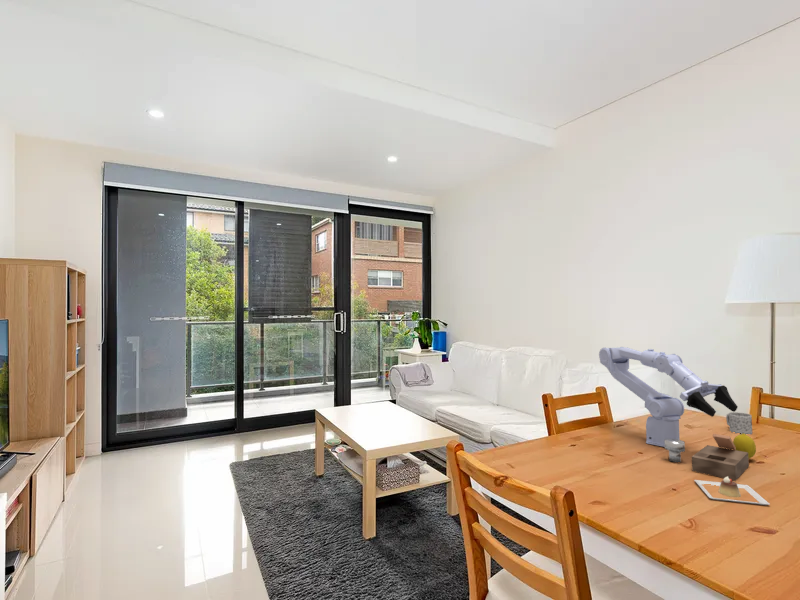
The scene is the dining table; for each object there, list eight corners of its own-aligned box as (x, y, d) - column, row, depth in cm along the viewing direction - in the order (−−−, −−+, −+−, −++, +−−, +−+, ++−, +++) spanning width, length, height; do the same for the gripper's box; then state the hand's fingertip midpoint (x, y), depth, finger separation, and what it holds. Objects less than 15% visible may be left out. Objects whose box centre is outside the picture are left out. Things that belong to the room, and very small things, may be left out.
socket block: (692, 470, 123) (691, 456, 123) (707, 458, 134) (707, 445, 134) (735, 480, 115) (735, 465, 116) (748, 466, 126) (748, 452, 126)
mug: (757, 434, 158) (756, 416, 158) (738, 434, 158) (738, 416, 159) (736, 427, 168) (735, 410, 168) (718, 427, 168) (718, 410, 169)
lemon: (760, 463, 128) (759, 436, 128) (739, 462, 129) (738, 435, 130) (749, 457, 134) (748, 431, 134) (729, 456, 135) (728, 430, 135)
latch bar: (719, 447, 131) (719, 444, 132) (735, 450, 128) (735, 447, 129) (712, 436, 127) (713, 433, 128) (729, 438, 124) (729, 436, 125)
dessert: (748, 489, 111) (747, 470, 112) (770, 509, 100) (769, 488, 100) (693, 483, 115) (693, 465, 115) (709, 502, 104) (708, 482, 104)
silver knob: (662, 460, 132) (661, 440, 132) (668, 456, 135) (667, 437, 135) (682, 465, 128) (681, 444, 128) (687, 461, 131) (686, 441, 131)
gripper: (673, 375, 136) (708, 406, 125) (712, 367, 138) (750, 397, 127) (666, 392, 140) (700, 423, 128) (705, 384, 142) (741, 414, 131)
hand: (724, 411), depth 128 cm, fingers open, 7 cm apart
